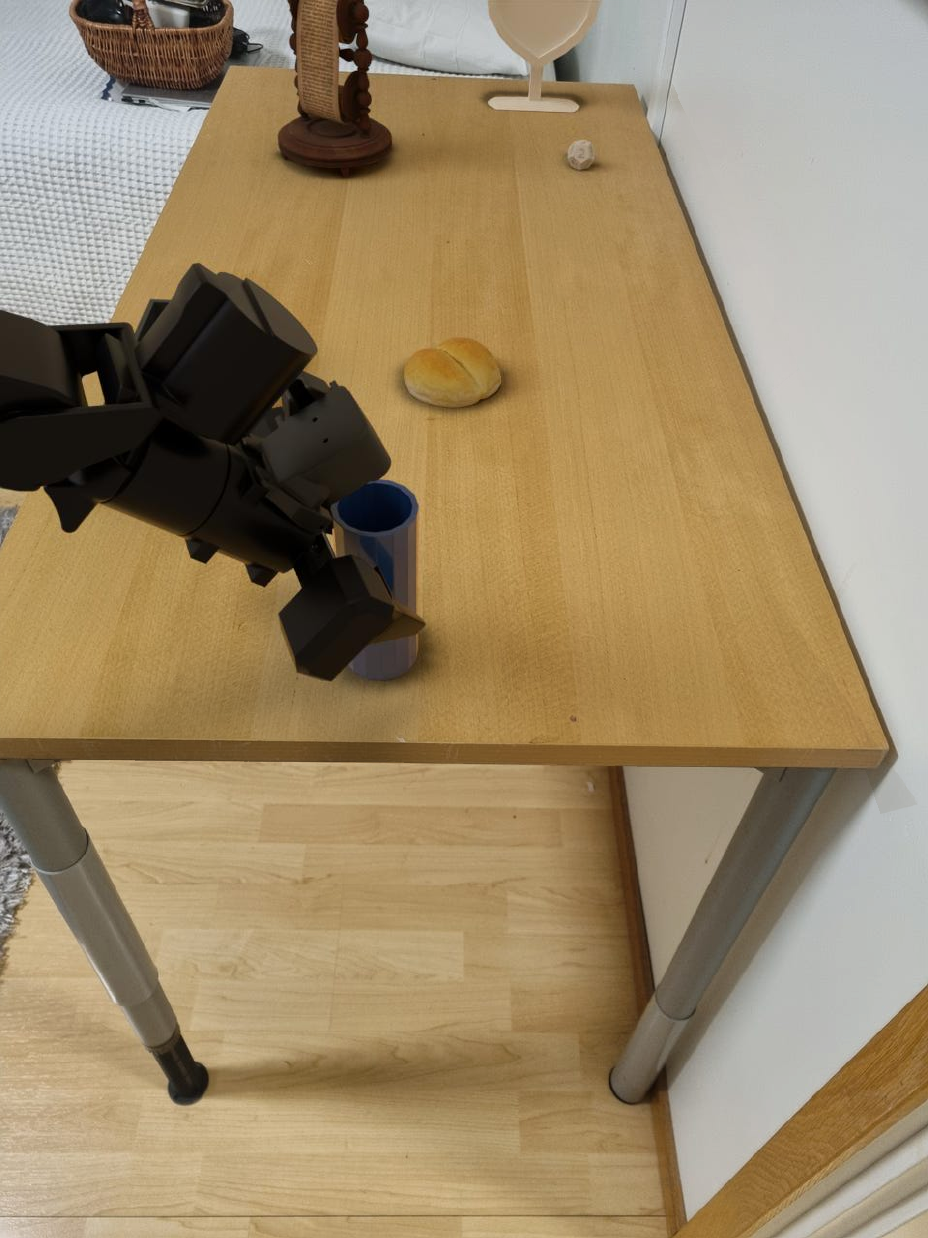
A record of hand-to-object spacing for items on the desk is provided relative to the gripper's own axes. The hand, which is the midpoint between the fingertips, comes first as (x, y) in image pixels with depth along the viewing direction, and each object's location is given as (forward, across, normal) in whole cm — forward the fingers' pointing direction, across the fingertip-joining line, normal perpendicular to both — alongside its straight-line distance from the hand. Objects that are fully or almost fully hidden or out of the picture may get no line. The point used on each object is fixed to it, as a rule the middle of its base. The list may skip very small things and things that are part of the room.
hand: (395, 578), depth 61 cm
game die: (+42, +71, -30) cm, 87 cm away
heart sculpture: (+44, +92, -33) cm, 108 cm away
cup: (+4, 0, +6) cm, 7 cm away
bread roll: (+17, +29, -6) cm, 34 cm away
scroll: (+20, +83, -10) cm, 86 cm away
